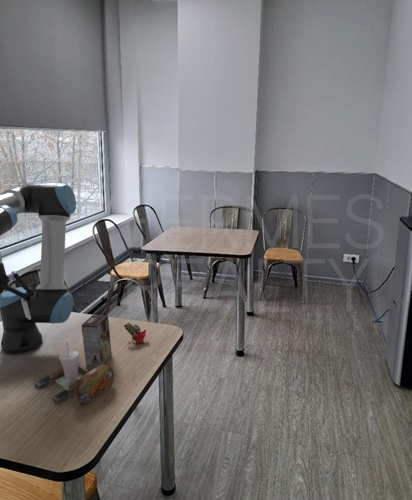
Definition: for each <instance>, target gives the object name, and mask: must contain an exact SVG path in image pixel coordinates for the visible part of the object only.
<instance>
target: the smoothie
mask: <svg viewBox="0 0 412 500" xmlns="http://www.w3.org/2000/svg"><path fill="white" fill-rule="evenodd" d="M65 346H66V347H65V348H66V350H65V351H63V352H62V353H60V354H59V356H58V360H59V361H60V363H61V367H63V371H64V374H65V378H66V382H67V383H72V382H74V381H76V380H78V363H79V358H80V352H79V351H78V350H75V349H69V342H68V341H65Z"/></svg>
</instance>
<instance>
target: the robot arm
mask: <svg viewBox="0 0 412 500" xmlns="http://www.w3.org/2000/svg"><path fill="white" fill-rule="evenodd" d="M76 209H77V201H76V195H75V192H74V190H73V188H72V187H71V186H70V185H69V184H67V183H59V182H56V183H55V182H53V183H51V182H50V183H49V182H48V183H26V184H22V185H19V186H15V187H12V188H9V189H5V190H4V191H3V192H2V193H1V194H0V237H2V235H4V234H6V233H7V232H9V231H11V230H12V229H13V228H14V227H15V226H16V224H17V223H18V215H19V214H37V215H38V219H39V220H41V222H42V223H41V225H42V226H41V227H42V228H41V246H40V247H41V248H40V249H41V251H40V252H41V253H40V255H41V256H40V276H39V277H40V279H39V281H40V282H39V284H38V285H37V286H36V287H35V292H34V291H33V290H32V289H31V287H29V286H28V285H27V284H26V283H25V282H24V281H23V280H21V278H20V275H19V274H18V273H17V272H16V271H15V270H13V271H11V273H10V274H7V272H6V269H5V265H4V262H2V261H3V258H2V255H1V253H0V316H1V317H0V318H1V322H2V329H3V333H2V336H1V342H0V343H1V344H0V349H1V351H2V353H4V354H7V355H22V354H26V353H30V352H32V351H36V350H37V349H38V348H40V347H41V345H42V344H43V343H44V341H43V335H42V333H41V332H40V331H39V328H38V326H37V324H52V325H54V324H63V323H65V322H66V321H67V320H68V319H69V317H70V316H71V313H72V311H73V307H74V298H73V295H72V294H71V292H68V291H69V290H68V286H66V284H65V282H64V281H65V258H66V257H65V255H66V253H65V252H66V228H67V226H66V225H67V222H68V221H69V220H70V219H71V215H72V214H74V213H75V212H76ZM10 280H12V281H15V282H16V283H17V284H18V285H19V287H15V288H14V286H11V285H10V284H9V281H10Z"/></svg>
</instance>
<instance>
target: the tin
mask: <svg viewBox="0 0 412 500" xmlns="http://www.w3.org/2000/svg"><path fill="white" fill-rule="evenodd" d="M89 371H90V372H88V373H87V374H85V375H84V376H82V377H81V378H80V379H79V380H78V381H77V383H76V385H75V387H74V392H73V393H74V397H75V399H76V400H77V401H78V402H81V403H82V404H89V403H90V402H92V401H93V400H94V399H96V398H98V397H99V396H100V395H102V394H103V393H104V392H106V391H107V390H108V389H109V388H110V387H111V385H112V384H113V381H114V377H115V371H114V369H113V367H112V366H110V365H107V364H103V365H99V366H95V367H94V368H93V369H91V370H89Z"/></svg>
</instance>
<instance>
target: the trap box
mask: <svg viewBox="0 0 412 500" xmlns="http://www.w3.org/2000/svg"><path fill="white" fill-rule="evenodd" d="M90 371H91V370H90V369H88V368H86V367H85V366H84V365H82V364H80V363H79V362H78V380H79V379H80V378H81V377H82V376H84V375H85V374H87V373H88V372H90ZM51 376H52V377H51ZM51 376H50V375H49V374H48V375H46V376H44V377H42V378H39V379H37V380H35V381H34V385H35V386H36V388H38V389H42V388H44V387H46V386H49V385H51V384H53V383H54V382H55V383H56V384H58V385H59V386H61V387H62V388H63V390H60V392H57V393H56V394H53V395H52V396H51V399H52V400H53V401H54V402H55V403H56V404H60V403H62V402H64V401H66V400H68V399H70V398H72V397H73V393H74V387H75V385H76V383H77V381H78V380H76V381H74V382H72V383H67V382H66V378H65V374H64V371H63V367H62V366H61V367H59V368H56V369H55V370H52V371H51Z"/></svg>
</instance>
